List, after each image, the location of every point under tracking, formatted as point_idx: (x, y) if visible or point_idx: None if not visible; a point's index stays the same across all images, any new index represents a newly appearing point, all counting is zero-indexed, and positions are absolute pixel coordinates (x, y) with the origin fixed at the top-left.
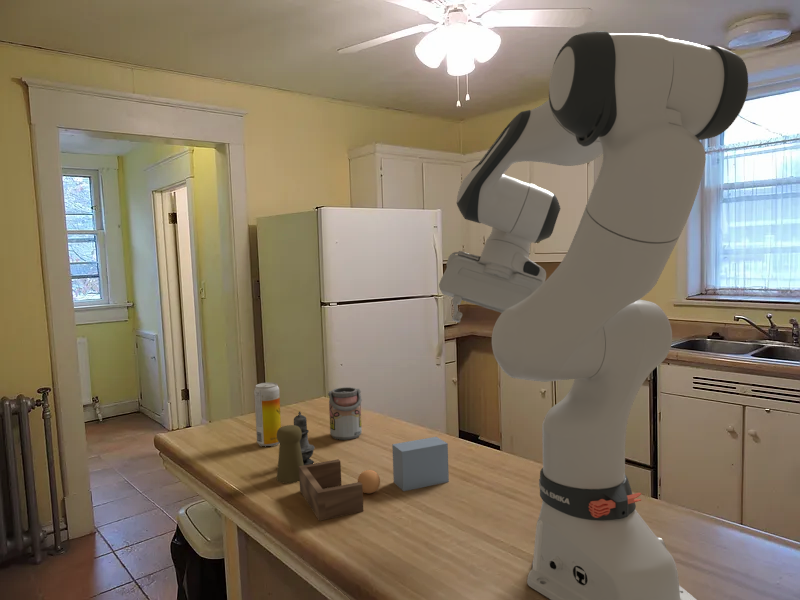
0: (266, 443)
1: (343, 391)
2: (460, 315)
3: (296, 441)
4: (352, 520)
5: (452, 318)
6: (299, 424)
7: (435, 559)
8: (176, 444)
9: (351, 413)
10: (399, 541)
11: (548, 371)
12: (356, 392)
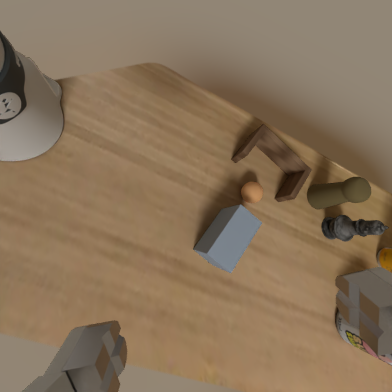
0: (383, 249)
1: None
2: (364, 292)
3: (342, 187)
4: (229, 142)
5: (376, 268)
6: (369, 221)
7: (143, 105)
8: None
9: None
10: (180, 122)
11: None
12: None
